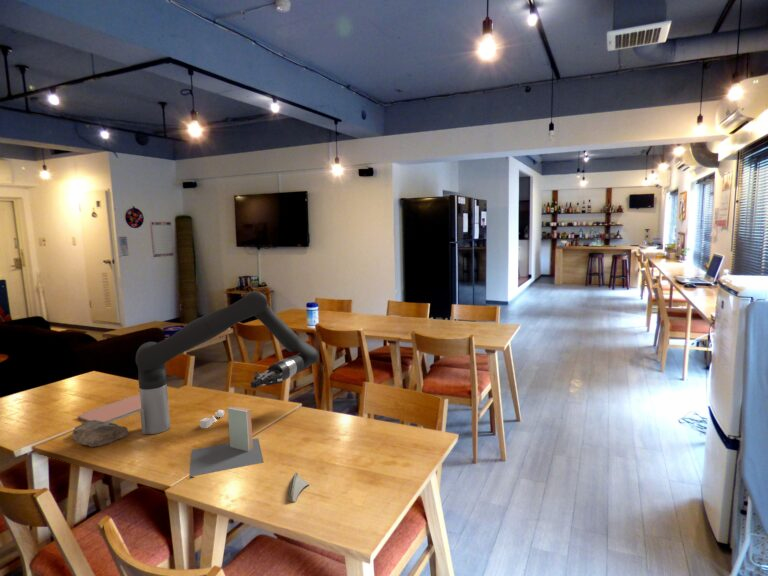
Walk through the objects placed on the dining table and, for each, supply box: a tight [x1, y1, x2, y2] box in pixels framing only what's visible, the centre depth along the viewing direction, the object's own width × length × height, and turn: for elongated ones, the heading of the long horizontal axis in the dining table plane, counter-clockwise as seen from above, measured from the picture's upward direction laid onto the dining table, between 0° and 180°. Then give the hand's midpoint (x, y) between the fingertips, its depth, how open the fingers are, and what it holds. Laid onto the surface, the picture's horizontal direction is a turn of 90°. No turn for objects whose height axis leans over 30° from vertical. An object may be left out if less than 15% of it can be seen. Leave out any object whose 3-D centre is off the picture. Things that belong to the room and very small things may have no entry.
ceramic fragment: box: [288, 471, 310, 504], centre depth 132 cm, size 14×5×4 cm, turn 4°
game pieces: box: [199, 409, 225, 429], centre depth 178 cm, size 12×3×3 cm, turn 164°
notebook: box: [77, 394, 141, 423], centre depth 191 cm, size 27×17×2 cm, turn 149°
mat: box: [188, 437, 264, 479], centre depth 151 cm, size 22×18×1 cm
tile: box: [227, 405, 253, 451], centre depth 155 cm, size 2×8×14 cm, turn 66°
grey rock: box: [72, 420, 129, 448], centre depth 168 cm, size 14×5×20 cm
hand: (252, 385), depth 160 cm, fingers closed
